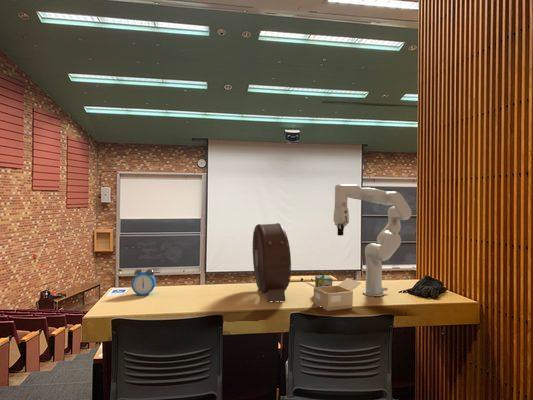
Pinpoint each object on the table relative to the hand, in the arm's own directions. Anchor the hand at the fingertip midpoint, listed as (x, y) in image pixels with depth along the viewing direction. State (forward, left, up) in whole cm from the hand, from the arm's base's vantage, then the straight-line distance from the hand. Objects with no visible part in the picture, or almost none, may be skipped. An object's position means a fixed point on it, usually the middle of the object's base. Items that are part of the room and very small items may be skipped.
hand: (340, 235), depth 211 cm
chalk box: (+8, -5, -37) cm, 39 cm away
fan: (+38, -18, -37) cm, 56 cm away
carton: (+14, +14, -37) cm, 42 cm away
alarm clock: (+109, -43, -37) cm, 123 cm away
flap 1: (+25, +14, -26) cm, 39 cm away
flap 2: (+3, +14, -26) cm, 29 cm away
